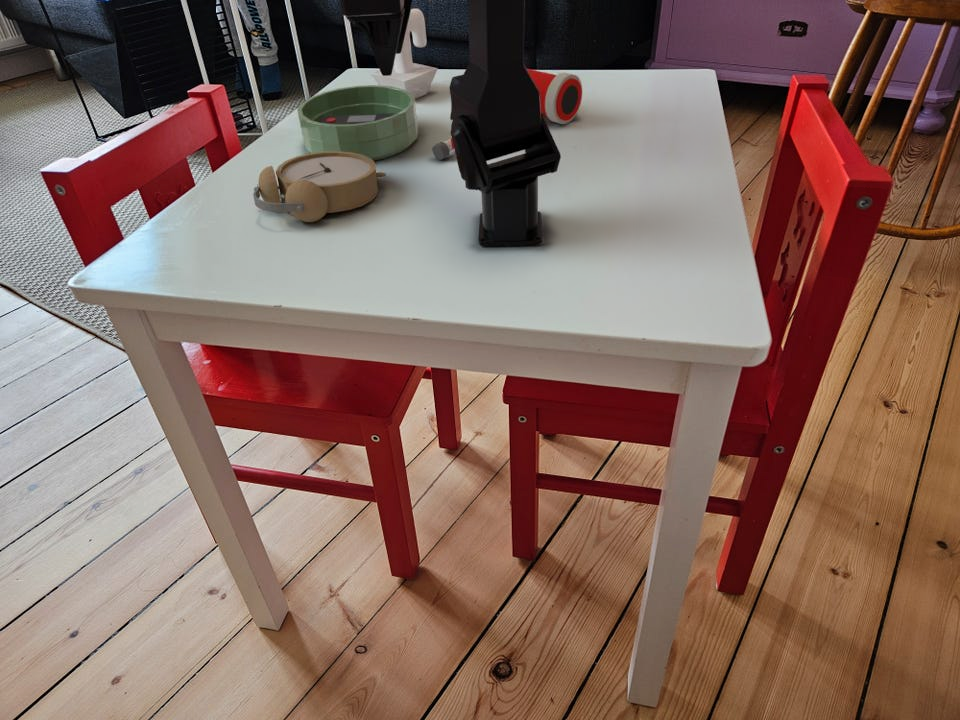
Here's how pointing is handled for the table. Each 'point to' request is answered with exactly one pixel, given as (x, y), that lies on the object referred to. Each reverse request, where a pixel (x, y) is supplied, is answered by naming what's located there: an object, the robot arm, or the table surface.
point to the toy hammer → (543, 102)
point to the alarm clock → (318, 184)
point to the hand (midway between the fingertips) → (392, 63)
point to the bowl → (362, 137)
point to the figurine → (410, 62)
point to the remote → (353, 118)
